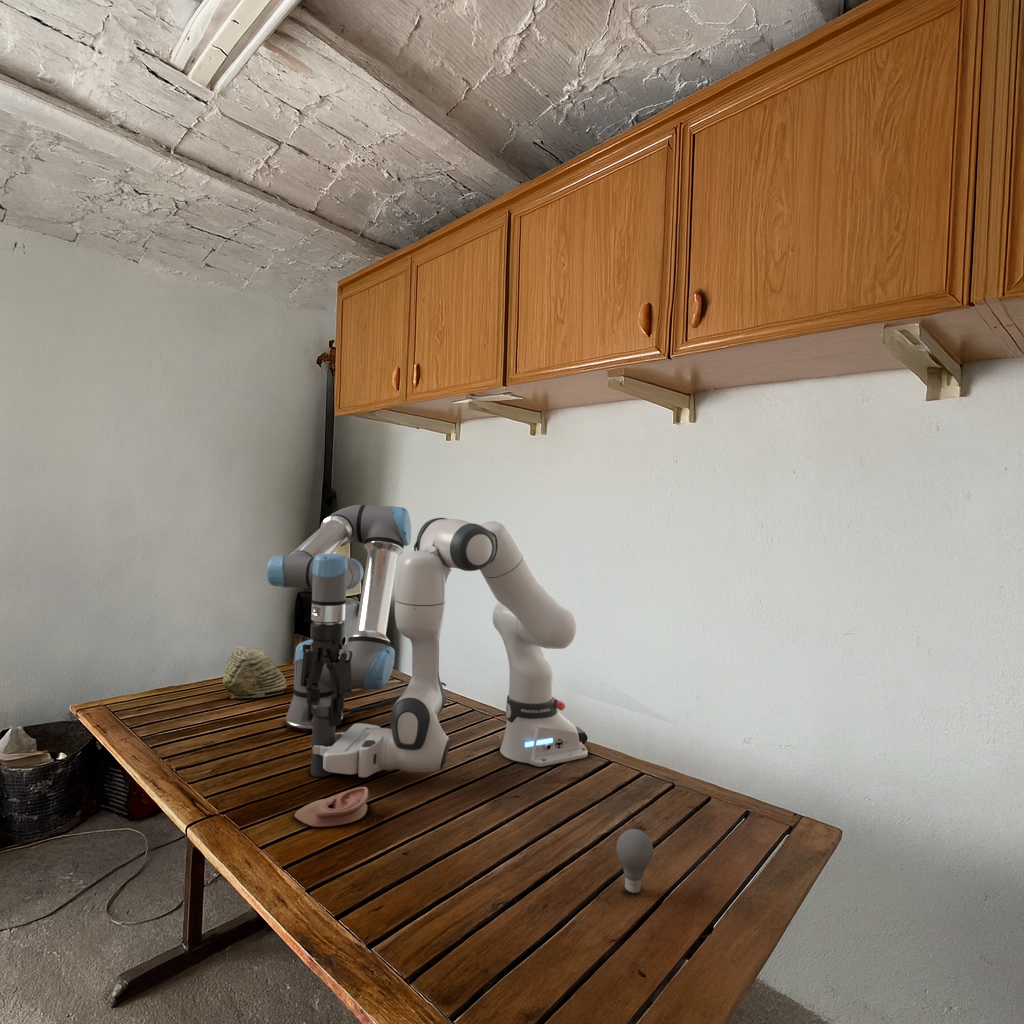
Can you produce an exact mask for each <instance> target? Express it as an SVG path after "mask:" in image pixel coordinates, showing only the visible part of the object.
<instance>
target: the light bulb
mask: <svg viewBox="0 0 1024 1024" xmlns="http://www.w3.org/2000/svg"><path fill="white" fill-rule="evenodd" d="M615 849H616V854H617V857H618V859H619V861H620V863H621V865H622V867H623V873H624V874H623V875H624V876H625V878H624V888H625V890H627V891H628V892H630V893H634V894H635V893H639V892H640V891H641V889H642V887H641V886H642V879H643V877H644V875H645V871H646V868H647V867H648V866H649V864H650V863H651V861H652V859H653V855H654V847H653V843H652V841H651V838H649V836H648V835H647V834H646V833H645V832H643V831H642V830H641V829H636V828H629V829H627V830H625V831H623V832H622V833H621V834H620V835H619V837H618V839H617V841H616V847H615Z"/></svg>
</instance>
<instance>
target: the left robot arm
mask: <svg viewBox="0 0 1024 1024" xmlns="http://www.w3.org/2000/svg"><path fill="white" fill-rule="evenodd" d="M411 541H412V523H411V518H410V514H409V511H408V510H407V508H405V507H402V506H394V505H391V506H390V505H368V504H367V505H366V504H354V505H350V506H347V507H343V508H341V509H339V510H336V511H335V512H332V513H330V514H329V515H328V516H327V517H326V518H324V519H323V521H322V522H321V523H320V527H319V529H317V530H316V531H314V533H312V534H311V536H308V538H307V539H305V540H304V541H303V542H302V543H301V544H300V545H299V546H298V547H296V548H295V549H294V550H293V551H292V552H291V553H290V554H288V555H283V554H282V555H274V556H272V557H271V558H270V559H269V561H268V563H267V566H266V579H267V582H268V583H269V584H270V585H271V586H273V587H281V588H295V589H296V588H297V589H311V613H310V615H311V616H310V621H312V622H311V623H310V634H309V635H310V639H307V640H304V641H302V642H300V643H298V644H297V645H296V647H295V655H294V659H293V661H294V670H293V671H294V672H293V695H292V696H293V697H292V699H291V702H290V704H289V708H288V711H287V713H286V715H285V726H286V728H287V729H289V730H291V731H294V732H295V731H296V732H301V733H312V728H313V715H312V713H311V706H312V702H313V701H315V700H319V699H331V711H330V727H334V726H335V728H337V727H339V726H340V725H342V723H343V722H344V713H343V712H358V711H363V710H368V709H373V708H375V707H376V708H377V707H379V706H383V705H385V704H388V703H391V702H393V701H395V700H396V701H397V700H398V699H399V698H400V697H401V695H402V694H400V695H397V696H395V697H391V698H390V699H388V700H385V701H382V702H378V703H375V704H371V705H367V706H362V707H356V708H355V707H354V708H347V707H346V708H345V707H344V706H345V705H344V704H345V697H346V696H350V695H351V694H352V691H353V689H359V690H361V689H363V690H365V691H370V690H382V689H383V688H384V687H385V686H386V685H387V684H388V683H389V681H390V678H391V677H392V676H391V675H392V673H393V670H394V666H395V657H396V653H395V651H396V650H395V649H394V647H392V646H391V641H390V639H389V638H388V637H387V629H388V623H389V615H390V609H391V602H392V596H393V595H392V594H393V588H394V581H395V575H396V567H397V561H398V557H399V556H400V555H402V553H404V547H408V546H409V545H410V544H411ZM347 544H363V548H364V549H365V551H366V552H367V556H366V557H367V558H366V565H365V569H364V568H363V565H362V564H361V562H360V561H359V560H358V559H355V558H354V557H353V558H352V557H347V556H346V555H345V554H343V553H342V554H341V553H335V552H336V551H337V550H338V549H339V548H341V547H344V546H346V545H347ZM362 580H363V581H362ZM361 582H362V586H361V587H362V589H361V593H360V600H359V607H358V612H357V619H356V623H355V624H356V625H355V630H354V632H353V633H352V634H350V635H349V636H348V639H347V644H344V643H342V642H343V640H344V638H345V636H346V635H345V633H346V631H345V630H346V623H345V622H344V621H345V620H346V603H347V590H351V589H353V588H355V587H357V585H359V584H360V583H361ZM441 684H442V686H443V687H447V685H448V684H446V683H445V682H442V681H441Z"/></svg>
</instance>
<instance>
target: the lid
mask: <svg viewBox="0 0 1024 1024" xmlns="http://www.w3.org/2000/svg"><path fill="white" fill-rule="evenodd" d="M330 711H331V699H319V700H315V701H313V702H312V706H311V713H312V715H315V716H330Z"/></svg>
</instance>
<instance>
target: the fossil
mask: <svg viewBox="0 0 1024 1024" xmlns="http://www.w3.org/2000/svg"><path fill="white" fill-rule="evenodd" d="M222 676H223V677H222V685H223V687H224V688H225V690H226V691H228V693H229V698H230V699H250V698H264V697H271V696H275V695H281V694H284V693H285V691H286V689H287V687H288V686H287V680H286V678H285V676H284V674H283V673H282V672H281V669H279V668H278V667H277V665H276V663H275V662H274V660H273V659H272V658H271V657H270V656H269V655H268V654H267V653H266V652H265V650H264V649H263V648H260V647H258V648H251V647H247V646H246V647H245V646H238V647H237V648H236V649H235V650H233V651H232V653H231V656H230V657H229V659H228V660H227V663H226V666H225V668H224V671H223V675H222Z"/></svg>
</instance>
